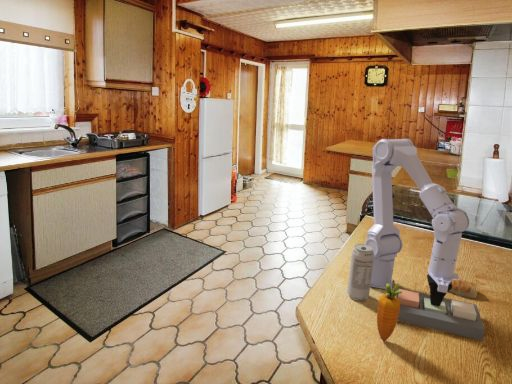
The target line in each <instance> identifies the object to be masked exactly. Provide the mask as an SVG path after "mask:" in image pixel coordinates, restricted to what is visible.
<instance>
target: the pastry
mask: <svg viewBox="0 0 512 384" xmlns="http://www.w3.org/2000/svg"><path fill="white" fill-rule="evenodd" d="M451 284H452V288H451V290H449V291H448V293H452V294H453V295H456V296H461V297H464V298H469V299H476V298H477V294H478V293H477V291H478V290H477V283H476V282H474V281H468V280H466V279H453V280H452V283H451Z"/></svg>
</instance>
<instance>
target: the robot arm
mask: <svg viewBox="0 0 512 384" xmlns="http://www.w3.org/2000/svg"><path fill="white" fill-rule="evenodd" d="M418 156H419V155H418V148H417V147H416V146H415V145H414V143H413V141H412V140H411V139H409V138H397V139H395V138H394V139H392V138H391V139H387V138H382V139H380V140H378V141H377V142H376V143H375V145H374V146H373V147H372V164H371V178H372V179H371V181H372V183H371V184H372V203H373V204H372V206H373V207H372V208H373V225H372V226H371V228H369V230H367V232H366V239H365V242H364V244H365V245H369V246H371V247H372V248H373V252H374V262H373V269H372V277H371V284H370V287H372V288H377V289H381V290H386V284H389V285H390V288H391V291H392V289H393V284H394V283H393V281H394V280H393V279H394V278H393V272H394V267H395V266H394V265H395V259H396V258H397V256H398V254H399V253H400V252H401V251H402V250H403V245H404V244H403V240H402V238H401V233H400V229H399V228H398V227H396V226H395V224H394V206H393V203H394V202H393V178H392V176H393V175H392V173H393V171H394V170H395V169H396V168H397V167H401V168H403V170H405V171H406V173H407V174H408V175H409V177H410V178H411V179H412V181H413V182H414V183H415V185H417V187H418V189H420V192H419V194H418V195H419V199H420V200H421V201H422V204H423V205H424V206H425V208H426V209H427V210H428V212H429V214H430V215H431V217H432V219H431V226H432V228H433V237H434V238H433V244H432V249H431V255H430V260H429V266H428V268H427V275H426V276H427V283H428V286H429V295H430V302H431V305H435V306H440V305H441V303H442V301H443V299H444V298H446V295H447V294H448V293H449V290H451V288H452V284H451V283H452V280H459V278H460V275H459V274H458V273H456V272H455V270H456V265H457V259H458V255H459V251H460V250H459V249H460V246H461V245H460V244H461V240H462V236H463V232H465V231H467V230H468V229H469V228H468V227H469V226H470V218H469V216H468V213H467V212H466V211H465V210H463V209H462V208H459V207H457V205H456V204H454V203H453V201H452V200H451V198H450V197H449V195H448V194H447V189H446V188H445V187H444V186H441V185H440V184H439V183H438V184H437V183H434V182H433V180H432V179H431V177H430V175H429V174H428V171H427V170H426V168H425V166H424V165H423V163H422V162H421V159H420V158H419V157H418Z"/></svg>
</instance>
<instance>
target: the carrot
mask: <svg viewBox="0 0 512 384" xmlns="http://www.w3.org/2000/svg"><path fill="white" fill-rule="evenodd" d="M393 287H394V289H393V288H392V289H393V291H392V290H391V288H390V285H389V284H386V289H385V292H386V293H385V294H382V295H379V297H378V303H377V313H376V314H377V315H376V323H377V325H376V327H377V330H378V335H379V337H380V339H381V340H382V341H383V342H386V341H387V340H388V339H389V338H390V337H391V336H392V335H393V332H394V331H395V329H396V325H397V323H398V321H397V320H398V315H399V310H400V300H399V299H398V298H396V297H395V296H396V295H397V294H399V293H402V291H400V290H399V291H396V290H397V288H399V287H400V283H396V284H395V286H393Z"/></svg>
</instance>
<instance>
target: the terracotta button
mask: <svg viewBox="0 0 512 384" xmlns="http://www.w3.org/2000/svg"><path fill="white" fill-rule="evenodd" d="M402 289H403V288H400V289H399V290H400V291H402V293H399V294H398V299H399V300H400V304H401V305H406V306H410V307H415V308H418V307H419V293H420V292H419V293H416V292H417V291H414V292H411V291H412V290H409V291H407V290H408V289H405V290H402Z"/></svg>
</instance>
